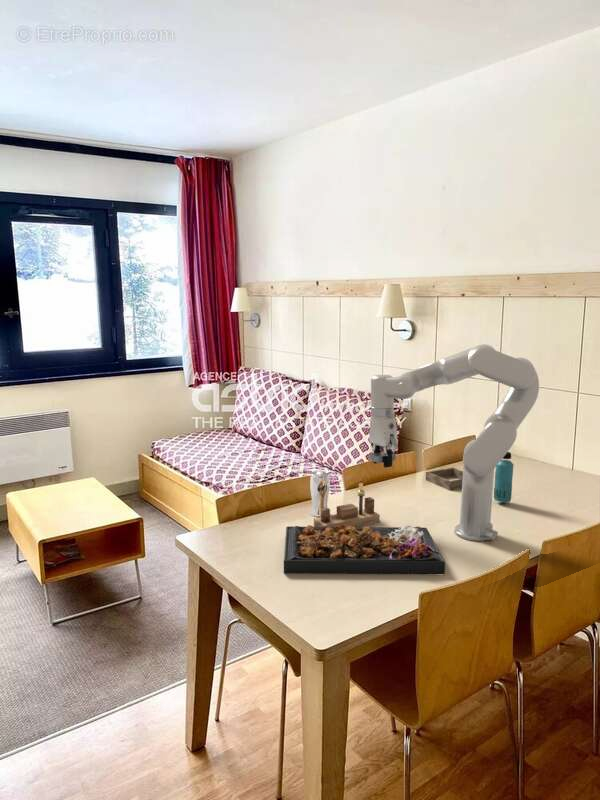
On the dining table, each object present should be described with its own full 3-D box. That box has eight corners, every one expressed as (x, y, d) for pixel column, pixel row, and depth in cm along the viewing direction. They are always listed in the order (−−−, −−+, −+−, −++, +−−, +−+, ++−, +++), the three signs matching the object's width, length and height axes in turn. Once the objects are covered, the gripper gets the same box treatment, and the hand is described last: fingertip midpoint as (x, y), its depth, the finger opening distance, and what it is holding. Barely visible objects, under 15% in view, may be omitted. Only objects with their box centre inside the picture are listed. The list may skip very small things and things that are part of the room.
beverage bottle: (508, 500, 222) (512, 450, 219) (513, 506, 216) (517, 454, 212) (491, 500, 223) (494, 449, 220) (495, 506, 216) (498, 454, 213)
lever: (357, 496, 199) (357, 492, 198) (357, 487, 208) (357, 483, 208) (364, 496, 199) (364, 492, 198) (364, 487, 208) (364, 483, 208)
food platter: (426, 540, 187) (427, 509, 185) (444, 576, 163) (446, 542, 161) (286, 539, 187) (286, 508, 185) (283, 575, 163) (283, 540, 161)
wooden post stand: (379, 521, 201) (380, 496, 199) (323, 532, 191) (324, 506, 189) (368, 514, 207) (368, 490, 205) (313, 525, 197) (314, 500, 196)
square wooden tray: (477, 485, 241) (478, 476, 240) (449, 490, 234) (450, 481, 233) (452, 475, 254) (453, 467, 253) (425, 479, 247) (425, 471, 247)
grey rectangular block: (395, 460, 196) (395, 452, 196) (378, 463, 193) (378, 455, 192) (386, 457, 200) (386, 449, 200) (369, 460, 197) (369, 452, 197)
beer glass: (327, 518, 204) (328, 477, 201) (308, 516, 205) (308, 475, 202) (330, 511, 210) (331, 471, 208) (311, 509, 212) (312, 470, 209)
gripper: (407, 414, 188) (407, 469, 191) (376, 407, 203) (377, 457, 206) (388, 417, 185) (389, 472, 188) (358, 409, 200) (359, 461, 203)
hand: (382, 464), depth 197 cm, fingers closed on grey rectangular block, 5 cm apart
